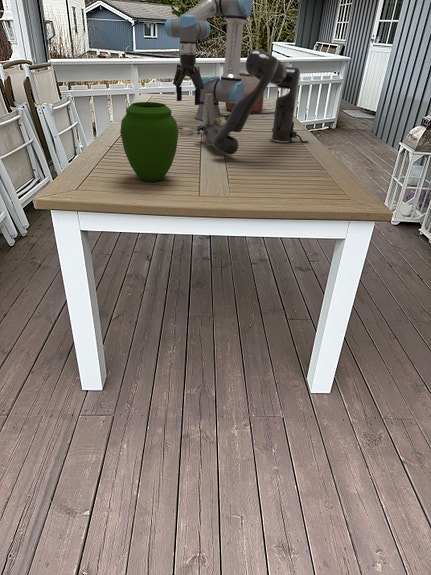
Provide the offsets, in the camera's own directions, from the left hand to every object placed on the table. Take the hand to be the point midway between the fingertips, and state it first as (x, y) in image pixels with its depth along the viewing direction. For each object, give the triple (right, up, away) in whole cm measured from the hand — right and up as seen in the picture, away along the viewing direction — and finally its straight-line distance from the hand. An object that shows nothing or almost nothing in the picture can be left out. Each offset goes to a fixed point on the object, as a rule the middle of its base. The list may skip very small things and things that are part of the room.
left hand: (188, 102), depth 204 cm
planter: (+33, +30, +78) cm, 89 cm away
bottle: (+10, -22, -7) cm, 25 cm away
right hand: (+9, -15, -8) cm, 20 cm away
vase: (-9, -53, -58) cm, 79 cm away
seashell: (+16, -11, +12) cm, 23 cm away
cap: (-1, -11, +6) cm, 13 cm away
